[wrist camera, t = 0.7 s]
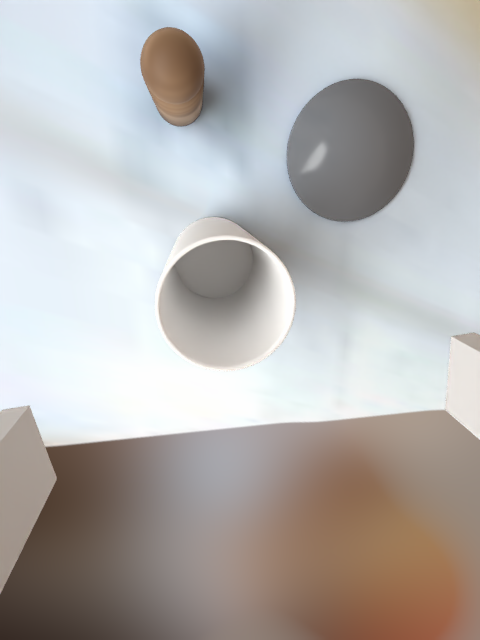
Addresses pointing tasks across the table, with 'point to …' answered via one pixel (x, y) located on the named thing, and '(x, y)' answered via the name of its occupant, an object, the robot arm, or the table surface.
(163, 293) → the cup
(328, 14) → the table surface
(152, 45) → the pepper mill
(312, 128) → the coaster
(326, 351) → the table surface
